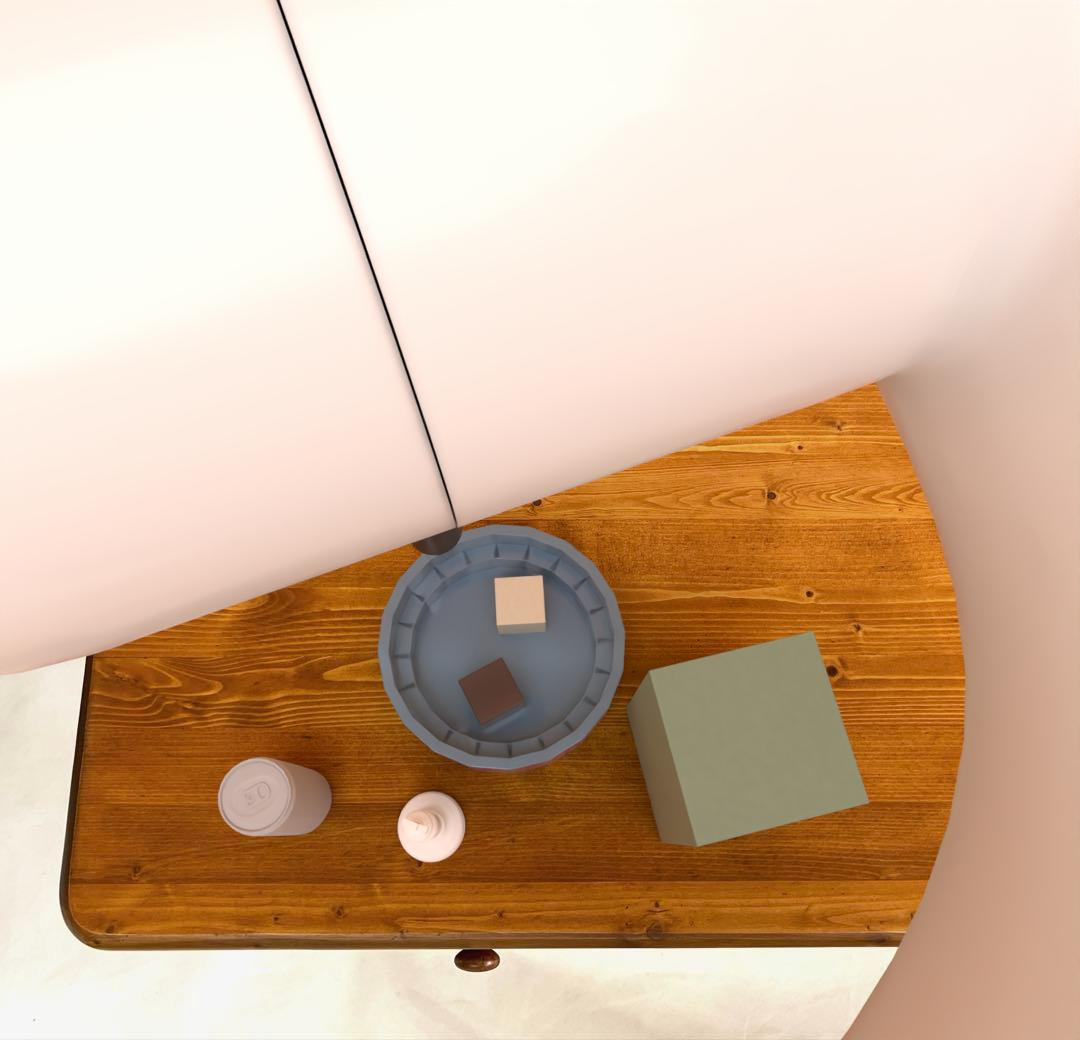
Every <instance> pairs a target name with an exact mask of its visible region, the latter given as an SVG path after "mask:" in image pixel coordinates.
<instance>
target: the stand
mask: <svg viewBox="0 0 1080 1040" xmlns="http://www.w3.org/2000/svg"><path fill="white" fill-rule="evenodd" d="M625 711H626V714H627V718H628V721H629V725H630V730H631V733H632V737H633V740H634V745H635V748H636V753H637V756H638V760H639V763H640V767H641V771H642V775H643V779H644V783H645V786H646V790H647V793H648V797H649V802H650V805H651V809H652V813H653V816H654V820H655V824H656V828H657V832H658V835H659V839H660V843H661V844H670V845H678V846H679V845H680V846H688V847H698V848H699V847H703V846H706V845H711V844H715V843H719V842H723V841H726V840H730V839H734V838H738V837H741V836H745V835H749V834H754V833H758V832H762V831H766V830H769V829H773V828H777V827H781V826H785V825H789V824H793V823H796V822H801V821H805V820H809V819H812V818H817V817H820V816H824V815H828V814H832V813H836V812H840V811H843V810H848V809H851V808H857V807H859V806H864V805H867V804H869V803H870V799H869V797H868V793H867V791H866V788H865V784H864V780H863V778H862V774H861V772H860V769H859V766H858V763H857V760H856V757H855V754H854V750H853V748H852V745H851V741H850V739H849V736H848V732H847V730H846V726H845V724H844V720H843V717H842V715H841V711H840V708H839V705H838V702H837V698H836V696H835V693H834V690H833V686H832V684H831V681H830V678H829V674H828V672H827V669H826V665H825V662H824V659H823V656H822V653H821V651H820V648H819V643H818V642H817V638H816V636H815V632H814V630H811V631H806V632H802V633H797V634H793V635H789V636H786V637H781V638H777V639H773V640H769V641H765V642H760V643H757V644H753V645H748V646H744V647H739V648H735V649H731V650H728V651H724V652H720V653H719V652H718V653H715V654H711V655H707V656H703V657H699V658H695V659H690V660H686V661H681V662H678V663H674V664H670V665H666V666H661V667H657V668H654V669H649V670H648V672H647V673H646V675H645V677H644V678H643V679H642V681H641V683H640V684H639V686H638V687H637V689H636V690H635V692H634V694H633V695H632V696H631V698H630V700H629V702H628V704H627V705H626V707H625Z"/></svg>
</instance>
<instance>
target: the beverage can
mask: <svg viewBox="0 0 1080 1040" xmlns="http://www.w3.org/2000/svg"><path fill="white" fill-rule="evenodd" d="M332 804H333V794H332V790H331V786H330V784H329V782H328V780H327V778H326V777H324V776H323V775H322V774H321V773H320V772H319V771H317V770H314V769H311V768H308V767H305V766H302V765H298V764H295V763H291V762H288V761H284V760H280V759H276V758H272V757H266V756H257V757H250V758H248V759H245V760H242V761H240V762H238V763H237V764H235V765H234V766H232V768H230V770H229V771H228V772H227V773H226V774H225V775H224V777H223V779H222V782H221V783H220V786H219V789H218V792H217V807H218V810H219V814H220V815H221V817H222V819H223V821H224V822H225V823H226V824H227V825H228V826H229V827H230V828H231V829H232V830H234V831H236V832H237V833H239V834H241V835H245V836H249V837H282V836H284V837H285V836H302V835H306V834H308V833H311V832H313V831H315V829H317V828H318V827H319V826H320V825H321V824H322V823H323V822H324V820H325V819H326V818H327V816H328V814H329V812H330V810H331V806H332Z"/></svg>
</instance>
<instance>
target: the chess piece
mask: <svg viewBox="0 0 1080 1040" xmlns="http://www.w3.org/2000/svg"><path fill="white" fill-rule="evenodd" d="M465 833H466V819H465V815H464V812H463V810H462V808H461V806H460V805H459V802H457V801H456V800H455V799H454V798H453V797H451V796H450V795H448V794H446V793H444V792H441V791H434V790H433V791H425V792H422V793H418V794H417V795H415V796H414V797H412V798H411V799H410V800H409V801H408V802H406V804H405V805H404V807H403V808H402V810H401V812H400V814H399V816H398V821H397V835H398V839H399V842H400V844H401V846H402V848H403V850H405V852H406V853H407V854H408V855H410V856H411V857H412V858H414V859H415V860H418V861H420V862H424V863H436V862H437V863H438V862H440V861H443V860H446V859H447V858H450V856H452V855H453V854H454V853H455V852H456V851H457V850H458V849H459V847H460V845H462V842H463V839H464V836H465Z"/></svg>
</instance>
